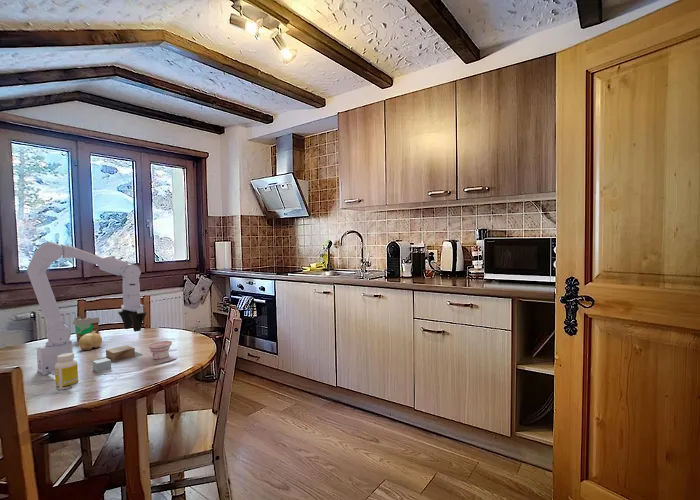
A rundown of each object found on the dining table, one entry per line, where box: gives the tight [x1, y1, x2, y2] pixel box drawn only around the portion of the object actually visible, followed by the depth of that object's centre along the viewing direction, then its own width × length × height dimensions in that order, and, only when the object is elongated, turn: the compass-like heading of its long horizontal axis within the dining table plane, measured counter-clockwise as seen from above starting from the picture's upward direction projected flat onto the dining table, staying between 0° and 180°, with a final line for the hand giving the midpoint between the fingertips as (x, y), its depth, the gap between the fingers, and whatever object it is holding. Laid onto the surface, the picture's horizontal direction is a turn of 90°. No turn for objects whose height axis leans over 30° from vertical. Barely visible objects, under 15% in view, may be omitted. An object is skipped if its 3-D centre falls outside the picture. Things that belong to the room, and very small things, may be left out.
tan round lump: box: [77, 331, 103, 351], centre depth 149 cm, size 8×8×7 cm
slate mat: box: [96, 351, 144, 364], centre depth 134 cm, size 12×10×1 cm
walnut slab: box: [105, 344, 136, 361], centre depth 134 cm, size 7×7×3 cm
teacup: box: [147, 340, 177, 366], centre depth 132 cm, size 12×12×6 cm
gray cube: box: [92, 358, 112, 373], centre depth 121 cm, size 4×4×4 cm
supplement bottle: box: [54, 352, 79, 391], centre depth 109 cm, size 5×5×10 cm
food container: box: [72, 316, 101, 342], centre depth 162 cm, size 12×6×10 cm, turn 73°
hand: (132, 329), depth 140 cm, fingers open, 7 cm apart
